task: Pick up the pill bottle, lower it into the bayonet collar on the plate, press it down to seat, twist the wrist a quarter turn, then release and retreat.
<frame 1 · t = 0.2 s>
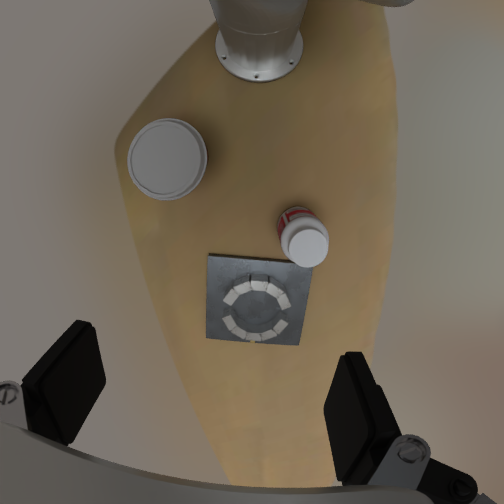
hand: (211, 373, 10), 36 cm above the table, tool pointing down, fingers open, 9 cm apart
disposable coffee cup: (187, 157, 43), on the table
pill bottle: (297, 225, 45), on the table
socket plate: (256, 301, 49), on the table
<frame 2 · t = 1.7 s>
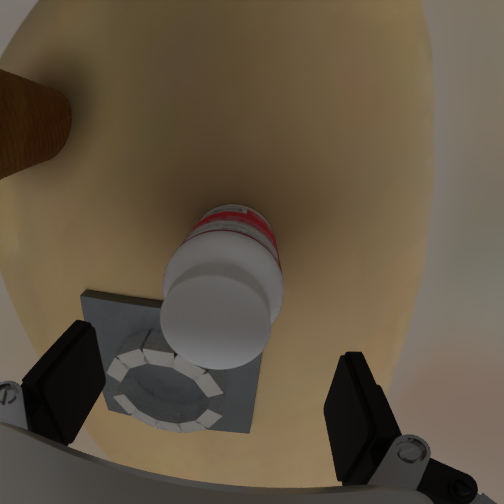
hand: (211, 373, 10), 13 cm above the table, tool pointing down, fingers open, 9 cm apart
disposable coffee cup: (45, 125, 19), on the table
pill bottle: (233, 242, 23), on the table
socket plate: (172, 369, 27), on the table
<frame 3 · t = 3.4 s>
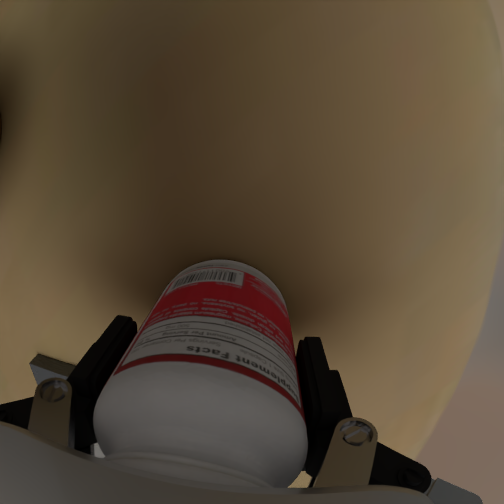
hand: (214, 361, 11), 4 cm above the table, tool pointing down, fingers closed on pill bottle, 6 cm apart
pill bottle: (224, 313, 15), on the table, touching gripper
socket plate: (152, 448, 19), on the table
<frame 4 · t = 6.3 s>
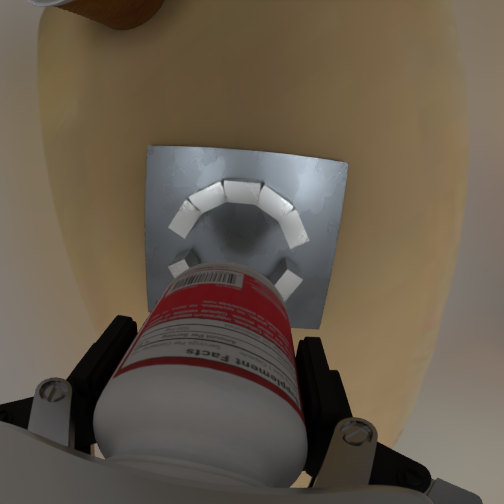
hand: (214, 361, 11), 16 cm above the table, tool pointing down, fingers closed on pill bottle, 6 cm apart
disposable coffee cup: (133, 3, 19), on the table
pill bottle: (224, 314, 15), point 12 cm above the table, touching gripper
socket plate: (239, 239, 26), on the table
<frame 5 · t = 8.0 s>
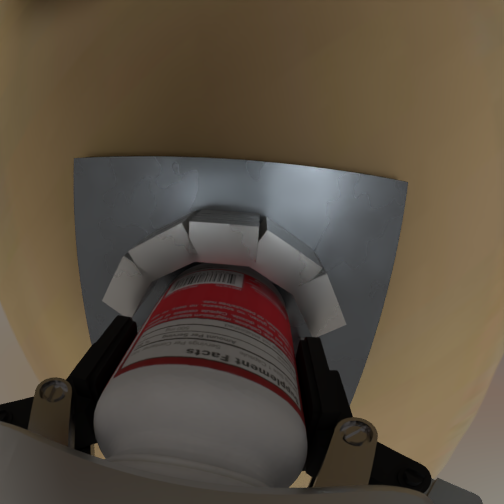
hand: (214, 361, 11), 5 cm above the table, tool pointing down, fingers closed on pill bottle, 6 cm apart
pill bottle: (224, 314, 15), point 1 cm above the table, touching gripper
socket plate: (226, 306, 16), on the table
when the fingers open (5 cm above the table, at t = 9.5 s): pill bottle stays where it is, resting on socket plate.
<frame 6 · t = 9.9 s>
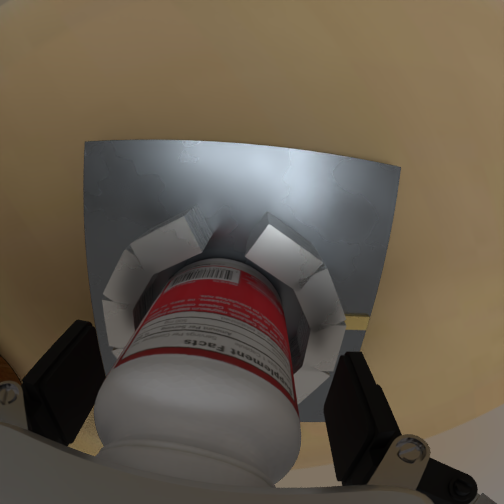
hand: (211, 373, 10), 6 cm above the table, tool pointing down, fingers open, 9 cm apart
disposable coffee cup: (2, 373, 20), on the table
pill bottle: (222, 311, 15), point 1 cm above the table, touching socket plate
socket plate: (227, 300, 16), on the table
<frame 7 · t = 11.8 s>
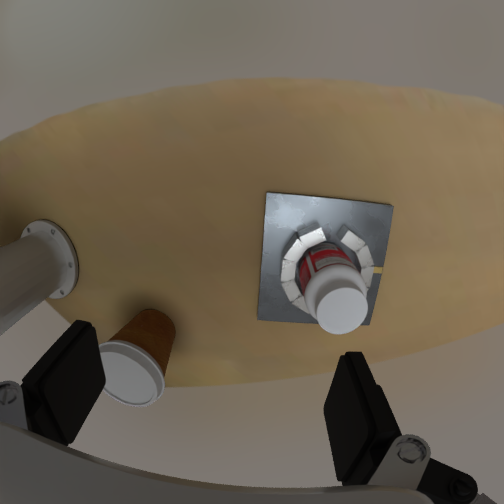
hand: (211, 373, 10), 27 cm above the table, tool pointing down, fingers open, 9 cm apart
disposable coffee cup: (155, 327, 42), on the table
pill bottle: (323, 265, 36), point 1 cm above the table, touching socket plate
socket plate: (323, 262, 37), on the table
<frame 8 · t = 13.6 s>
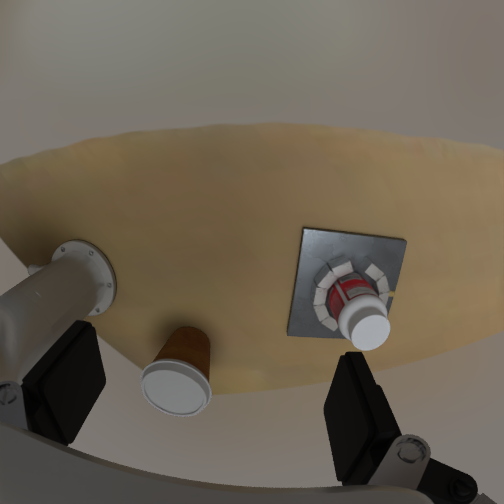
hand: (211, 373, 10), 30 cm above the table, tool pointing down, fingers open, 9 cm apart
disposable coffee cup: (190, 342, 46), on the table
pill bottle: (346, 290, 41), point 1 cm above the table, touching socket plate
socket plate: (345, 287, 42), on the table
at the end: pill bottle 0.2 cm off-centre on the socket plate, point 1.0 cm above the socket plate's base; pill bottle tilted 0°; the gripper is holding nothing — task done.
